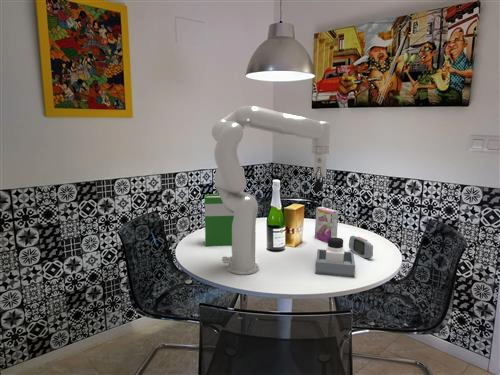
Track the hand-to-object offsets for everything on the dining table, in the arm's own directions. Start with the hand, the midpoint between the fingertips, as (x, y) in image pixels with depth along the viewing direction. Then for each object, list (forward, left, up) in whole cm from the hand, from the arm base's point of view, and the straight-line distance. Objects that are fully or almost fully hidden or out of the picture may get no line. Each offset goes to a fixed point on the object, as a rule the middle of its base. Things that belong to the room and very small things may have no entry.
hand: (318, 189), depth 162 cm
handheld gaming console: (+20, +4, -31) cm, 37 cm away
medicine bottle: (+8, -14, -30) cm, 34 cm away
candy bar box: (+4, +21, -31) cm, 37 cm away
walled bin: (+8, -15, -30) cm, 35 cm away
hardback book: (-45, +4, -31) cm, 55 cm away
